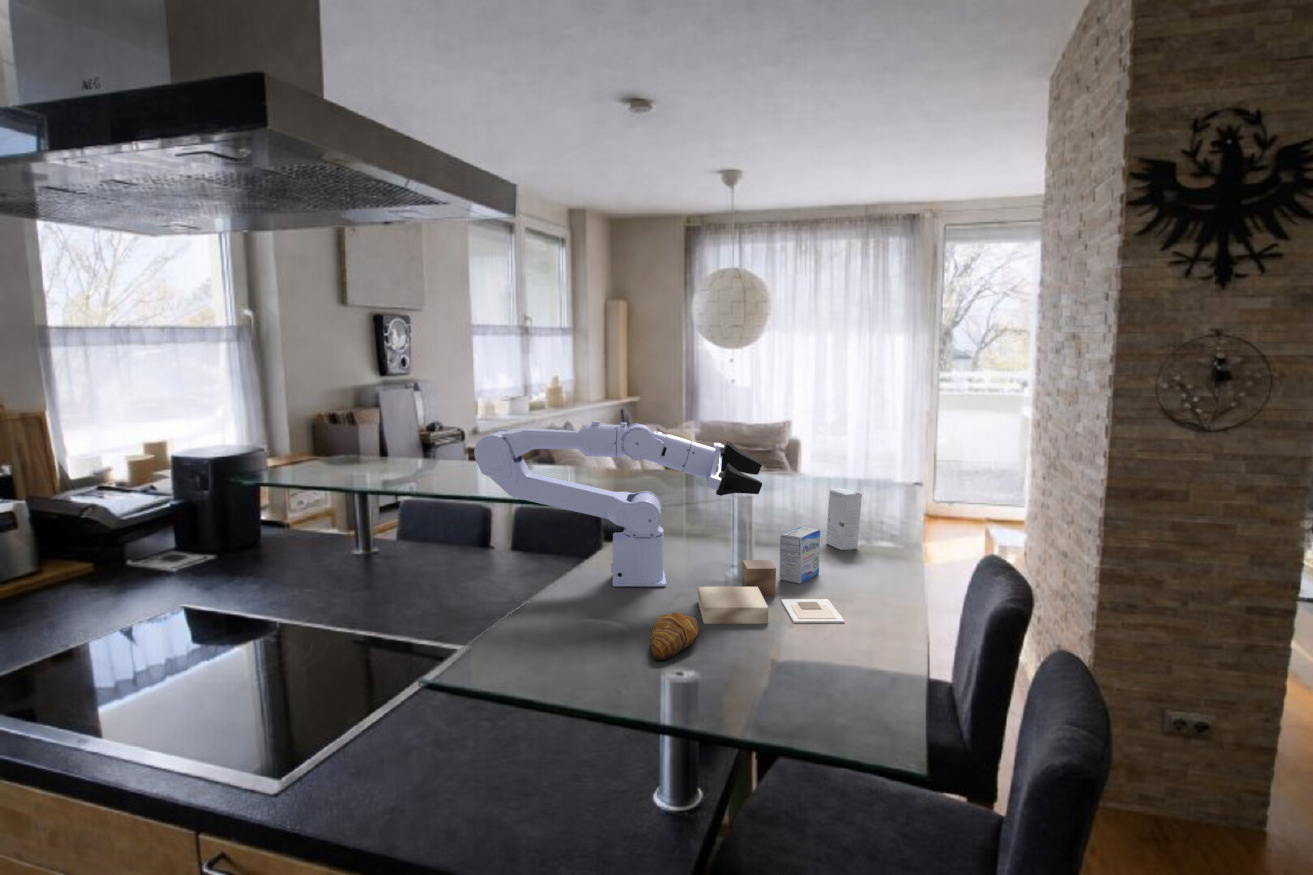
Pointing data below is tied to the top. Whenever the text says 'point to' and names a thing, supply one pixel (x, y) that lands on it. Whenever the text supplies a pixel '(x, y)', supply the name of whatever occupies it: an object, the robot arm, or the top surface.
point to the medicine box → (799, 554)
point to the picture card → (812, 611)
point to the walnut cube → (759, 576)
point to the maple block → (732, 605)
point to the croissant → (672, 635)
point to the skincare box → (843, 518)
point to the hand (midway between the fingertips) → (760, 478)
